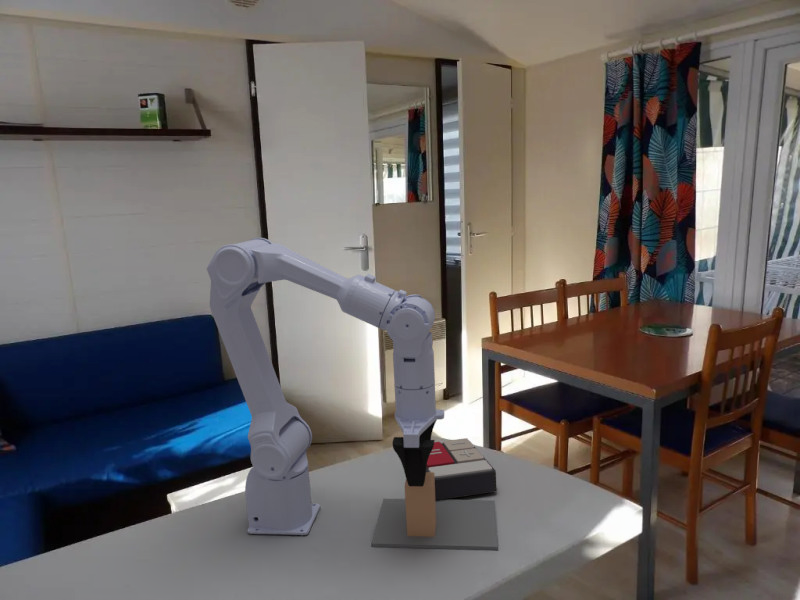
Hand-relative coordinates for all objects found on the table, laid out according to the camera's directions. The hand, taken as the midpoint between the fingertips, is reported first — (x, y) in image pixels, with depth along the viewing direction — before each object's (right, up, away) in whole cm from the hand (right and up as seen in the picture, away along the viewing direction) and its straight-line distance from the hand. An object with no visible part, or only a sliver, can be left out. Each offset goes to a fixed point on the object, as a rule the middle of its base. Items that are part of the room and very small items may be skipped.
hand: (418, 471), depth 84 cm
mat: (+3, -9, +4) cm, 10 cm away
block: (+1, -9, +2) cm, 9 cm away
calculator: (+7, -6, +17) cm, 19 cm away
